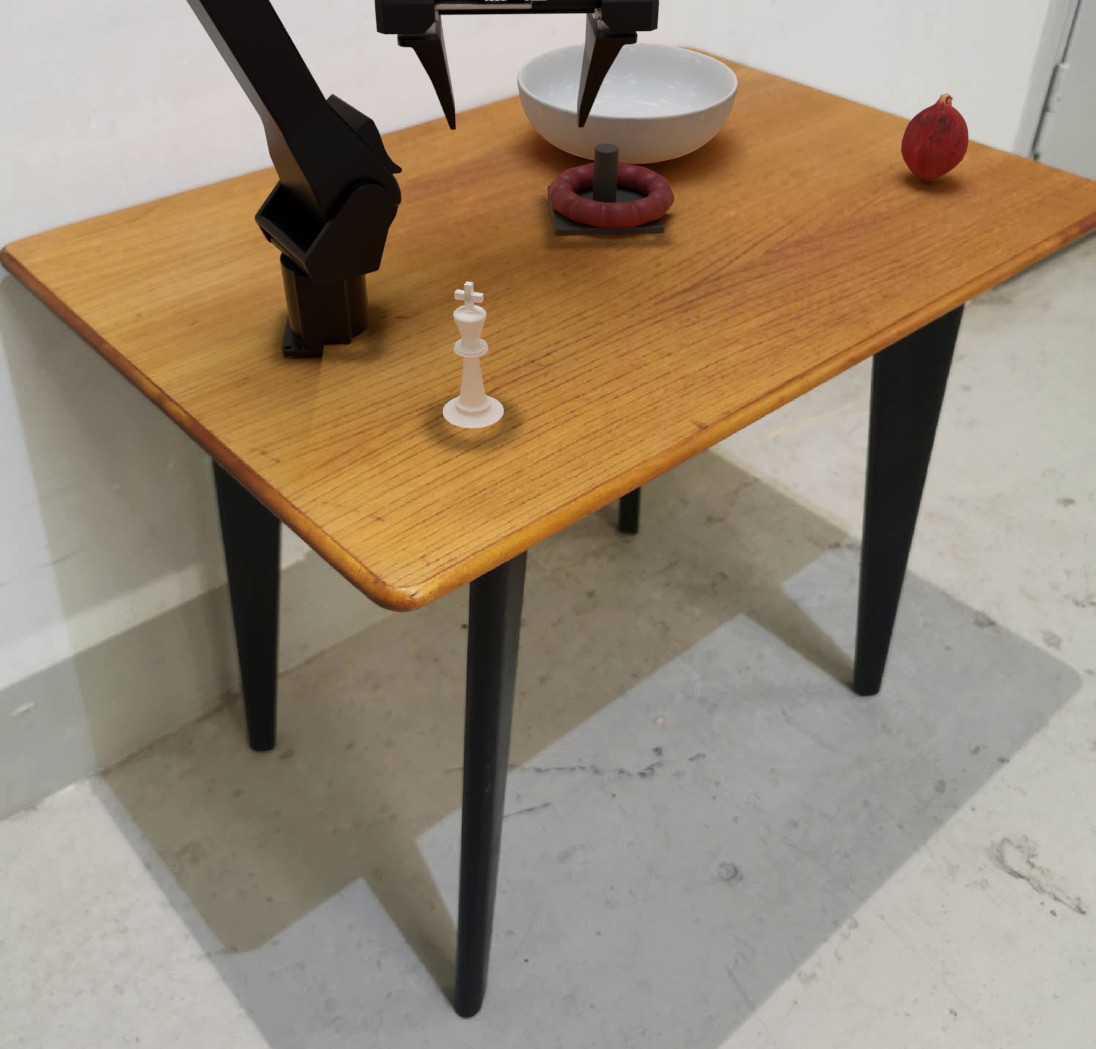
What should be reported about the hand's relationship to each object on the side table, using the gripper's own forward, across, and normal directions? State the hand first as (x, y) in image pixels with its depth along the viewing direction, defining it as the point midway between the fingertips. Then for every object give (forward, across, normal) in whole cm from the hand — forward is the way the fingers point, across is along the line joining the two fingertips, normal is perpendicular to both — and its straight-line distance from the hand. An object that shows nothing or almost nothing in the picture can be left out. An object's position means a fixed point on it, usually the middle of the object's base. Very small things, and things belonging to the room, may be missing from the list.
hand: (516, 126), depth 81 cm
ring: (+10, -8, -10) cm, 16 cm away
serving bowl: (+12, -12, -27) cm, 32 cm away
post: (+12, -8, -10) cm, 18 cm away
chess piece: (+12, +4, +20) cm, 24 cm away
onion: (+12, -39, -17) cm, 44 cm away
